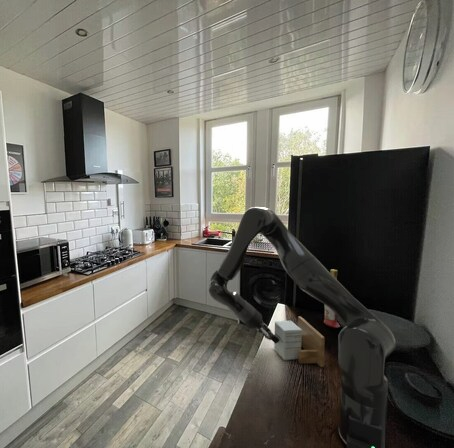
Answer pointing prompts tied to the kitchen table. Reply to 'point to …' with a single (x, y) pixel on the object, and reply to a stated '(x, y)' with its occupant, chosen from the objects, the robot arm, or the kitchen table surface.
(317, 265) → the robot arm
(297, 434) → the kitchen table surface
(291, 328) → the white packaging box
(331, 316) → the liquor
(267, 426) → the kitchen table surface
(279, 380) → the kitchen table surface
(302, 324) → the wooden stand
